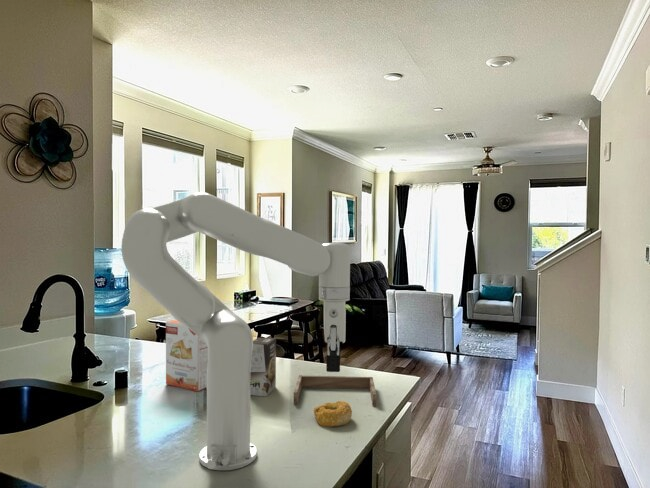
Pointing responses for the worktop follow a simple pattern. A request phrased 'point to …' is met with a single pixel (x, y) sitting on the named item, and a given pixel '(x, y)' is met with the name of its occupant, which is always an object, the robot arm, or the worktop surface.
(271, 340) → the coffee box
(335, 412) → the bagel
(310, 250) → the robot arm
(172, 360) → the cracker box
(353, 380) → the box
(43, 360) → the worktop surface
